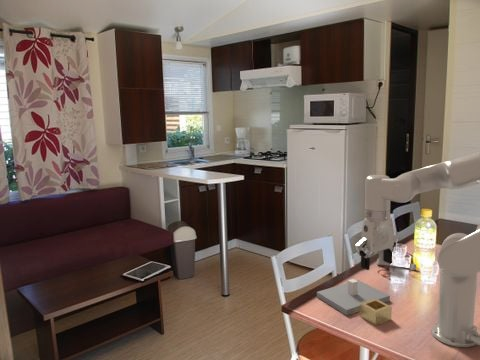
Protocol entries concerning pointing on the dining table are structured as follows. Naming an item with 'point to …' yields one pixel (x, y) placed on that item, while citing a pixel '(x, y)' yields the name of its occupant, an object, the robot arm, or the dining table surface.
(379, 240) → the robot arm
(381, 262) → the door handle
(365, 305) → the collar
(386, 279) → the dining table surface
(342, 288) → the post stand
